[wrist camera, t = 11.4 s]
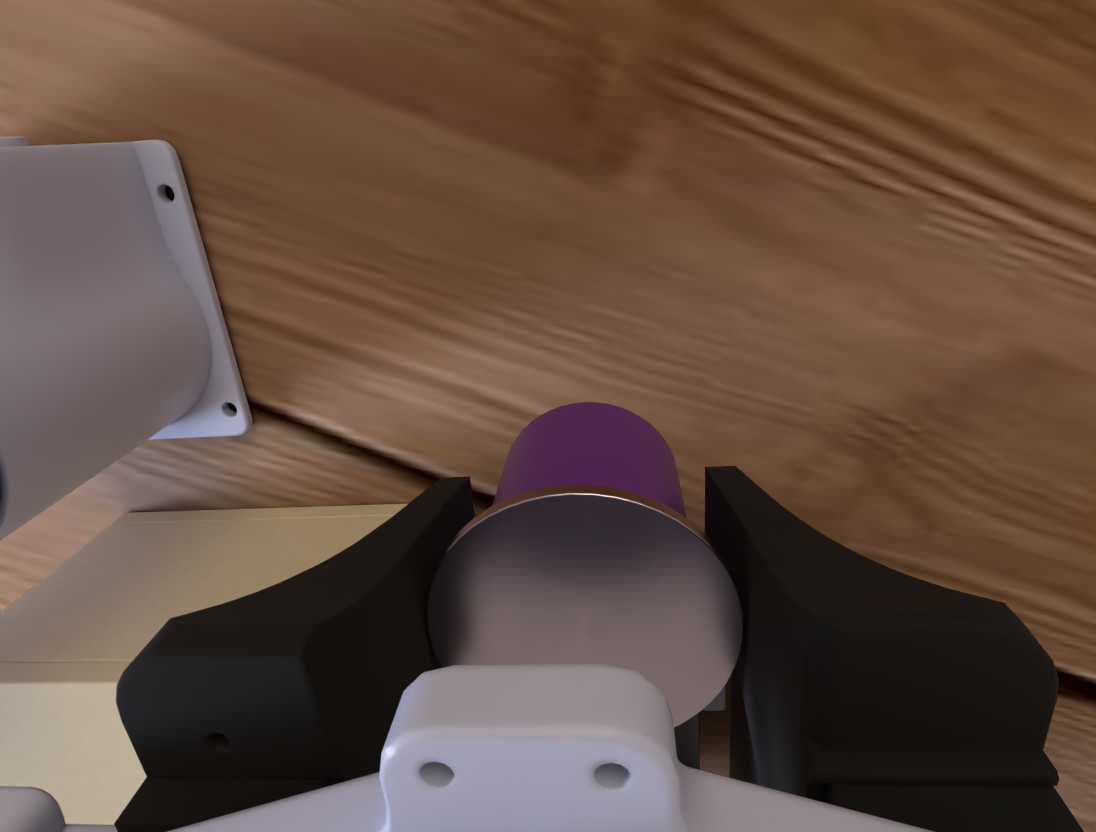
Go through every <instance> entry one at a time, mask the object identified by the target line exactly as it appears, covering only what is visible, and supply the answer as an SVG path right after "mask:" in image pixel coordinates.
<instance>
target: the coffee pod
mask: <svg viewBox="0 0 1096 832" xmlns="http://www.w3.org/2000/svg"><path fill="white" fill-rule="evenodd" d="M426 620H427V628H428V634H429V638H430V642H431V645H432V649H433V651H434V653H435V656H436V658H437V660H438V662H439V665H440V666H441V668H445V667H449V666H453V665H542V664H604V665H609V666H615V667H620V668H625V669H630V670H635V671H638V672H639V673H640V674H642V675H643V676H644V677H646V678H647V679H649V680H650V681H651V682H653V683H654V684H655V685H657V686H658V687H660V688H661V689H662V690H663V692H664V695H665V697H666V700H667V702H668V705H669V708H670V710H671V713H672V716H673V725H674V728H675V727H677V726H679V725H681V724H682V723H684V722H686V721H687V720H689V719H690V718H692V717H693V716H695V715H696V714H698V713H699V712H700V711H701V710H702V709H704V708H705V707H706V706H707V705H708V704H710V703H711V701H712V700H713V699H714V698H715V697H716V696H717V695H718V694H719V693H720V692H721V690H722V689H723V687H724V686H725V685H726V683H727V682H728V680H729V679H730V677H731V675H732V673H733V671H734V669H735V667H736V665H737V663H738V660H739V656H740V653H741V649H742V646H743V639H744V631H745V622H744V609H743V605H742V600H741V596H740V592H739V588H738V585H737V582H736V580H735V577H734V575H733V572H732V570H731V568H730V566H729V564H728V563H727V561H726V559H725V558H724V556H723V554H722V553H721V551H720V550H719V549H718V548H717V546H716V545H715V544H714V543H713V542H712V540H711V539H710V538H709V537H708V536H707V535H706V534H705V533H704V532H703V531H702V530H701V529H699V528H698V527H697V526H696V525H695V524H694V523H693V522H691V521H690V520H688V519H687V518H686V514H685V509H684V504H683V499H682V494H681V489H680V484H679V479H678V474H677V469H676V464H675V460H674V457H673V455H672V452H671V450H670V448H669V446H668V445H667V443H666V441H665V440H664V438H663V437H662V436H661V435H660V433H659V432H658V431H657V430H656V429H655V428H654V427H653V426H652V425H651V424H650V423H648V422H647V421H645V420H644V419H643V418H641V417H640V416H638V415H636V414H634V413H632V412H631V411H628V410H626V409H623V408H620V407H617V406H613V405H609V404H603V403H593V402H583V403H574V404H569V405H565V406H561V407H558V408H555V409H553V410H550V411H548V412H546V413H544V414H543V415H541V416H539V417H538V418H536V419H535V420H533V421H532V422H531V423H530V424H529V425H528V426H526V427H525V428H524V429H523V430H522V432H521V433H520V434H519V435H518V437H517V438H516V440H515V441H514V443H513V445H512V446H511V449H510V451H509V453H508V456H507V459H506V462H505V466H504V469H503V472H502V476H501V479H500V482H499V486H498V489H497V492H496V496H495V499H494V502H493V506H492V507H490V508H488V509H487V510H485V511H484V512H482V513H481V514H479V515H478V516H476V517H475V518H473V519H472V520H471V521H470V522H469V523H468V524H467V525H466V526H465V527H464V528H462V529H461V530H460V531H459V532H458V534H457V535H456V536H455V537H454V539H453V540H452V541H451V542H450V543H449V545H448V546H447V548H446V550H445V551H444V553H443V555H442V556H441V558H440V560H439V562H438V565H437V568H436V570H435V573H434V575H433V578H432V581H431V583H430V587H429V592H428V597H427V607H426Z"/></svg>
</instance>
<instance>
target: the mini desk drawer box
mask: <svg viewBox="0 0 1096 832" xmlns="http://www.w3.org/2000/svg"><path fill="white" fill-rule="evenodd" d="M406 505H408V504H379V505H348V506H317V507H287V508H256V509H226V510H195V511H165V512H134V513H124V514H123V515H121V516H120V517H119V518H118V519H116V520H115V521H114V522H113V523H112V524H111V525H109V526H108V527H107V528H106V529H104V530H103V531H102V532H101V533H99V534H98V535H97V536H96V537H94V538H93V539H92V540H91V541H89V542H88V543H87V544H86V545H84V546H83V547H82V548H81V549H79V550H78V551H77V552H76V553H74V554H73V555H72V556H71V557H70V558H68V559H67V560H66V561H65V562H63V563H62V564H61V565H60V566H58V567H57V568H56V569H55V570H53V571H52V572H51V573H50V574H48V575H47V576H46V577H45V578H43V579H42V580H41V581H40V582H38V583H37V584H36V585H35V586H33V587H32V588H31V589H30V590H29V591H27V592H26V593H25V594H24V595H22V596H21V597H20V598H19V599H17V600H16V601H15V602H14V603H12V604H11V605H10V606H9V607H7V608H6V609H5V610H4V611H2V612H1V613H0V786H15V787H34V788H39V789H42V790H44V791H46V792H48V793H49V794H51V795H52V796H53V797H54V798H55V800H56V801H57V802H58V804H59V806H60V808H61V810H62V813H63V816H64V819H65V823H66V824H98V825H114V823H115V821H116V820H117V819H118V817H119V816H120V814H121V813H122V811H123V810H124V809H125V807H126V806H127V804H128V803H129V802H130V800H131V799H132V797H133V796H134V794H135V793H136V792H137V790H138V789H139V787H140V786H141V785H142V783H143V782H144V780H145V779H146V777H147V776H146V774H145V772H144V770H143V767H142V765H141V763H140V761H139V759H138V756H137V754H136V752H135V750H134V748H133V745H132V743H131V741H130V739H129V737H128V734H127V732H126V730H125V728H124V726H123V723H122V721H121V718H120V715H119V711H118V708H117V704H116V687H117V684H118V681H119V679H120V677H121V675H122V673H123V671H124V670H125V669H126V668H127V667H128V665H129V664H130V663H131V662H132V661H133V660H134V659H135V657H136V656H137V655H138V654H139V653H140V652H141V651H142V650H143V648H144V647H145V646H146V645H147V644H148V643H149V642H150V640H151V639H152V638H153V637H154V636H155V635H156V634H157V632H158V631H159V630H160V629H161V628H162V627H163V626H164V625H165V623H166V622H167V621H168V620H169V619H170V618H173V617H177V616H181V615H184V614H188V613H191V612H195V611H198V610H202V609H205V608H209V607H213V606H216V605H220V604H223V603H226V602H229V601H232V600H235V599H238V598H241V597H244V596H246V595H249V594H252V593H255V592H257V591H260V590H263V589H265V588H268V587H270V586H273V585H275V584H278V583H280V582H282V581H284V580H286V579H288V578H291V577H293V576H295V575H297V574H299V573H301V572H303V571H305V570H308V569H310V568H312V567H314V566H316V565H318V564H320V563H322V562H324V561H325V560H327V559H329V558H331V557H332V556H334V555H336V554H338V553H339V552H341V551H343V550H345V549H346V548H348V547H349V546H351V545H353V544H354V543H356V542H357V541H359V540H360V539H362V538H363V537H365V536H366V535H367V534H369V533H370V532H372V531H373V530H374V529H376V528H377V527H379V526H380V525H381V524H383V523H384V522H386V521H387V520H388V519H390V518H391V517H392V516H394V515H395V514H396V513H397V512H399V511H400V510H401V509H403V508H404V507H405V506H406ZM474 508H475V505H474ZM475 515H476V512H475Z"/></svg>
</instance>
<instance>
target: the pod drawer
mask: <svg viewBox="0 0 1096 832" xmlns="http://www.w3.org/2000/svg"><path fill="white" fill-rule="evenodd" d="M725 708H726V686H724V687H723V689H722V690H721V692H720V693H719V694H718V695H717V696H716V697H715V698H714V699H713V700H712V701H711V703H710V704H708V705H707V706H706V707H705V708H704V709H702V710H701V711H723V710H725ZM674 734H675V743H676V753H677V758H678V760H679V762H680V763H682V764H683V765H685V766H687V767H691V768H694V769H698V770H699V755H700V712H699V713H698V714H696V715H695V716H693V717H692V718H690V719H689V720H687V721H686V722H684V723H682V724H681V725H679V726H677V727H675V728H674ZM729 778H732V779H736V780H740V781H744V782H748V783H751V784H755V785H759V781H758V775H757V770H756V764H755V759H754V753H753V747H752V742H751V736H750V731H749V726H748V720H747V715H746V710H745V705H744V699H743V695H742V691H741V687H740V683H739V679H738V675H737V672H736V669H734V671H733V673H732V695H731V734H730V772H729Z"/></svg>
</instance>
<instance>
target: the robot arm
mask: <svg viewBox="0 0 1096 832" xmlns="http://www.w3.org/2000/svg"><path fill="white" fill-rule="evenodd" d="M167 185H168V186H169V187H170V188H172V190H173V192H174V200H173V201H171V200H170V199H169V198H168V197H167V195H166V193H165V188H166V186H167ZM228 403H232V404H233V405H235V407H236V408H237V412H234V411H232V410H231V409H230V408H229V406H228ZM252 424H253V422H252V416H251V412H250V409H249V405H248V402H247V398H246V395H245V391H244V388H243V384H242V380H241V377H240V373H239V370H238V366H237V363H236V359H235V356H234V352H233V349H232V345H231V341H230V338H229V334H228V331H227V327H226V324H225V320H224V317H223V313H222V310H221V306H220V303H219V299H218V295H217V292H216V288H215V285H214V281H213V278H212V274H211V271H210V267H209V264H208V260H207V256H206V253H205V249H204V246H203V242H202V239H201V235H200V232H199V228H198V225H197V221H196V217H195V214H194V210H193V207H192V203H191V200H190V196H189V193H188V189H187V186H186V182H185V179H184V175H183V171H182V168H181V164H180V161H179V157H178V155H177V152H176V150H175V149H174V148H173V147H172V145H171V144H169V143H168V142H166V141H164V140H143V141H133V142H112V143H87V144H63V145H38V146H30V144H29V142H28V139H27V138H26V137H24V136H10V137H0V540H2V539H3V538H5V537H6V536H7V535H9V534H10V533H12V532H13V531H15V530H16V529H18V528H19V527H21V526H22V525H23V524H25V523H26V522H28V521H29V520H31V519H32V518H34V517H35V516H37V515H38V514H40V513H41V512H42V511H44V510H45V509H47V508H48V507H50V506H51V505H53V504H54V503H56V502H57V501H59V500H60V499H61V498H63V497H64V496H66V495H67V494H69V493H70V492H72V491H73V490H75V489H76V488H77V487H79V486H80V485H82V484H83V483H85V482H86V481H88V480H89V479H91V478H92V477H94V476H95V475H96V474H98V473H99V472H101V471H102V470H104V469H105V468H107V467H108V466H110V465H111V464H112V463H114V462H115V461H117V460H118V459H120V458H121V457H123V456H124V455H126V454H127V453H129V452H130V451H131V450H133V449H134V448H136V447H137V446H139V445H140V444H142V443H143V442H145V441H146V440H155V439H177V438H199V437H221V436H239V435H243V434H244V433H245V432H246V431H248V430H249V429H250V428H251V426H252ZM475 517H476V515H475V508H474V502H473V495H472V489H471V482H470V477H451V478H441V479H440V480H438V481H437V482H435V483H434V484H433V485H431V486H430V487H429V488H428V489H426V490H425V491H424V492H423V493H421V494H420V495H419V496H418V497H416V498H415V499H414V500H413V501H411V502H410V503H409V504H408V505H406V506H405V507H404V508H403V509H401V510H400V511H399V512H397V513H396V514H395V515H394V516H392V517H391V518H390V519H388V520H387V521H386V522H384V523H383V524H381V525H380V526H379V527H377V528H376V529H374V530H373V531H372V532H370V533H369V534H367V535H366V536H365V537H363V538H362V539H360V540H359V541H357V542H356V543H354V544H353V545H351V546H349V547H348V548H346V549H345V550H343V551H341V552H339V553H338V554H336V555H334V556H332V557H331V558H329V559H327V560H325V561H324V562H322V563H320V564H318V565H316V566H314V567H312V568H310V569H308V570H305V571H303V572H301V573H299V574H297V575H295V576H293V577H291V578H288V579H286V580H284V581H282V582H280V583H278V584H275V585H273V586H270V587H268V588H265V589H263V590H260V591H257V592H255V593H252V594H249V595H246V596H244V597H241V598H238V599H235V600H232V601H229V602H226V603H223V604H220V605H216V606H213V607H209V608H205V609H202V610H198V611H195V612H191V613H188V614H184V615H181V616H177V617H173V618H170V619H169V620H168V621H167V622H166V623H165V625H164V626H163V627H162V628H161V629H160V630H159V631H158V632H157V634H156V635H155V636H154V637H153V638H152V639H151V640H150V642H149V643H148V644H147V645H146V646H145V647H144V648H143V650H142V651H141V652H140V653H139V654H138V655H137V656H136V657H135V659H134V660H133V661H132V662H131V663H130V664H129V665H128V667H127V668H126V669H125V670H124V671H123V673H122V675H121V677H120V679H119V681H118V684H117V687H116V704H117V708H118V711H119V715H120V718H121V721H122V723H123V726H124V728H125V730H126V732H127V734H128V737H129V739H130V741H131V743H132V745H133V748H134V750H135V752H136V754H137V756H138V759H139V761H140V763H141V765H142V767H143V770H144V772H145V774H146V776H147V777H146V779H145V780H144V782H143V783H142V785H141V786H140V787H139V789H138V790H137V792H136V793H135V794H134V796H133V797H132V799H131V800H130V802H129V803H128V804H127V806H126V807H125V809H124V810H123V811H122V813H121V814H120V816H119V817H118V819H117V820H116V821H115V823H114V825H98V824H66V823H65V819H64V816H63V813H62V810H61V808H60V806H59V804H58V802H57V801H56V800H55V798H54V797H53V796H52V795H51V794H49V793H48V792H46V791H44V790H42V789H39V788H34V787H15V786H0V832H1084V831H1083V830H1082V828H1081V827H1080V825H1079V824H1078V822H1077V821H1076V819H1075V818H1074V816H1073V815H1072V813H1071V812H1070V810H1069V809H1068V807H1067V806H1066V804H1065V803H1064V801H1063V800H1062V798H1061V797H1060V795H1059V794H1058V792H1057V791H1056V790H1055V788H1054V787H1053V786H1057V784H1058V781H1059V776H1058V772H1057V770H1056V769H1055V767H1054V766H1053V764H1052V763H1051V761H1050V760H1049V758H1048V757H1047V756H1046V754H1045V753H1044V751H1043V748H1044V744H1045V741H1046V737H1047V733H1048V730H1049V726H1050V722H1051V719H1052V715H1053V711H1054V708H1055V704H1056V701H1057V694H1058V682H1059V678H1058V675H1057V672H1056V669H1055V665H1054V662H1053V660H1052V659H1051V658H1050V656H1049V655H1048V654H1047V653H1046V651H1045V650H1044V649H1043V648H1042V646H1041V645H1040V644H1039V643H1038V641H1037V640H1036V639H1035V637H1034V636H1033V635H1032V634H1031V632H1030V631H1029V630H1028V628H1027V627H1026V626H1025V625H1024V624H1023V623H1022V621H1021V620H1020V619H1019V618H1018V617H1017V616H1016V615H1015V614H1014V613H1013V612H1012V610H1011V609H1010V608H1009V607H1008V606H1007V605H1006V604H1005V603H1003V602H999V601H995V600H991V599H987V598H983V597H979V596H975V595H971V594H967V593H963V592H959V591H955V590H951V589H948V588H944V587H941V586H938V585H935V584H932V583H929V582H926V581H923V580H920V579H917V578H914V577H911V576H909V575H906V574H904V573H901V572H898V571H896V570H893V569H891V568H888V567H886V566H884V565H882V564H879V563H877V562H875V561H872V560H870V559H868V558H866V557H864V556H862V555H860V554H857V553H855V552H853V551H851V550H850V549H848V548H846V547H844V546H842V545H841V544H839V543H837V542H835V541H833V540H832V539H830V538H828V537H826V536H825V535H823V534H821V533H820V532H818V531H817V530H815V529H813V528H812V527H811V526H809V525H808V524H806V523H805V522H803V521H802V520H800V519H799V518H797V517H796V516H795V515H793V514H792V513H791V512H789V511H788V510H787V509H785V508H784V507H783V506H781V505H780V504H779V503H778V502H776V501H775V500H774V499H773V498H771V497H770V496H769V495H768V494H767V493H765V492H764V491H763V490H762V489H761V488H760V487H759V486H757V485H756V484H755V483H754V482H753V481H752V480H751V479H749V478H748V477H747V476H746V475H745V474H744V473H743V472H742V471H740V470H739V469H738V468H737V467H736V466H722V467H705V534H706V535H707V536H708V537H709V538H710V539H711V540H712V542H713V543H714V544H715V545H716V546H717V548H718V549H719V550H720V551H721V553H722V554H723V556H724V558H725V559H726V561H727V563H728V564H729V566H730V568H731V570H732V572H733V575H734V577H735V580H736V582H737V585H738V588H739V592H740V596H741V600H742V605H743V609H744V622H745V631H744V639H743V646H742V649H741V653H740V656H739V660H738V663H737V665H736V667H735V669H736V672H737V675H738V679H739V683H740V687H741V691H742V695H743V699H744V705H745V710H746V715H747V720H748V726H749V731H750V736H751V742H752V747H753V753H754V759H755V764H756V770H757V775H758V781H759V785H755V784H751V783H748V782H744V781H740V780H736V779H732V778H729V777H725V776H721V775H717V774H713V773H710V772H706V771H702V770H698V769H694V768H691V767H687V766H685V765H683V764H682V763H680V762H679V760H678V758H677V753H676V743H675V734H674V725H673V716H672V713H671V710H670V708H669V705H668V702H667V700H666V697H665V695H664V692H663V690H662V689H661V688H660V687H658V686H657V685H655V684H654V683H653V682H651V681H650V680H649V679H647V678H646V677H644V676H643V675H642V674H640V673H639V672H638V671H635V670H630V669H625V668H620V667H615V666H609V665H604V664H542V665H453V666H449V667H445V668H441V666H440V665H439V662H438V660H437V658H436V656H435V653H434V651H433V649H432V645H431V642H430V638H429V634H428V628H427V620H426V607H427V597H428V592H429V587H430V583H431V581H432V578H433V575H434V573H435V570H436V568H437V565H438V562H439V560H440V558H441V556H442V555H443V553H444V551H445V550H446V548H447V546H448V545H449V543H450V542H451V541H452V540H453V539H454V537H455V536H456V535H457V534H458V532H459V531H460V530H461V529H462V528H464V527H465V526H466V525H467V524H468V523H469V522H470V521H471V520H472V519H473V518H475Z"/></svg>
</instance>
